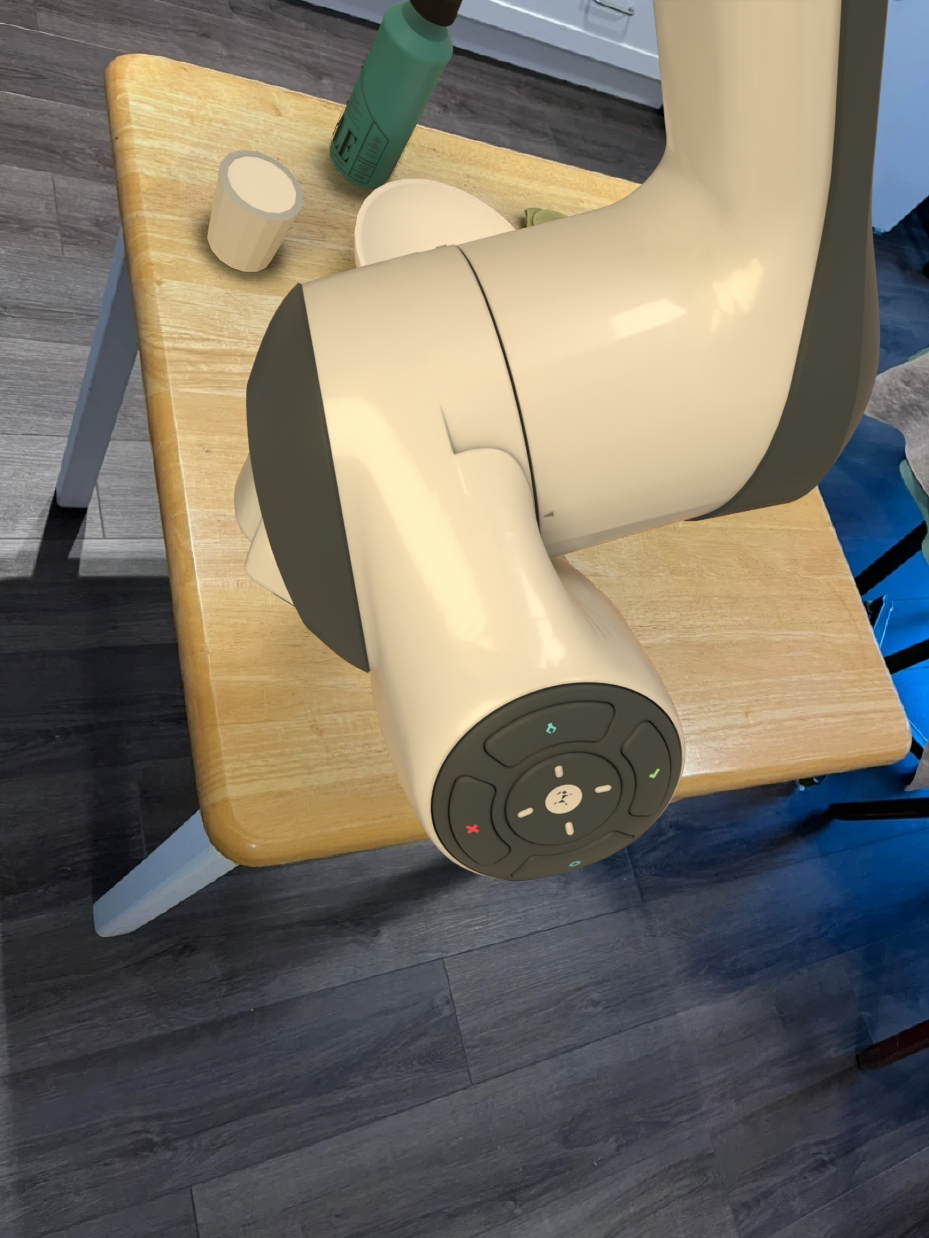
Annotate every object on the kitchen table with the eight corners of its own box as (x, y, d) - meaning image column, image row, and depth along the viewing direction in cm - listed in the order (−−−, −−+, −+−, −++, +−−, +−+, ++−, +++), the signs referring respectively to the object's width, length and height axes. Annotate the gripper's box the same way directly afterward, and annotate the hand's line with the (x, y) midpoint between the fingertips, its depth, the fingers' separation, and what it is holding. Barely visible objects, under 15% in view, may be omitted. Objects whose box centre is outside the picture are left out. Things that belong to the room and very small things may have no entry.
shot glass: (294, 255, 78) (320, 197, 72) (246, 291, 74) (270, 233, 68) (234, 200, 77) (255, 136, 71) (182, 233, 73) (200, 169, 67)
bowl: (290, 319, 75) (316, 265, 70) (378, 197, 85) (407, 141, 80) (477, 447, 80) (515, 406, 75) (539, 317, 90) (577, 272, 85)
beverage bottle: (397, 193, 87) (496, 8, 70) (351, 211, 83) (444, 21, 67) (354, 141, 87) (444, -57, 70) (306, 157, 83) (389, -48, 66)
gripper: (690, 632, 40) (595, 547, 53) (274, 416, 33) (281, 378, 46) (616, 744, 41) (542, 634, 54) (205, 558, 35) (230, 483, 48)
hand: (419, 515), depth 50 cm, fingers closed on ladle, 2 cm apart
